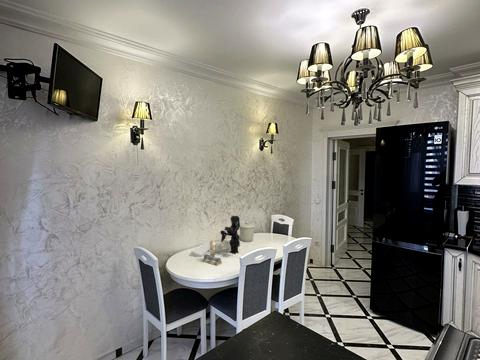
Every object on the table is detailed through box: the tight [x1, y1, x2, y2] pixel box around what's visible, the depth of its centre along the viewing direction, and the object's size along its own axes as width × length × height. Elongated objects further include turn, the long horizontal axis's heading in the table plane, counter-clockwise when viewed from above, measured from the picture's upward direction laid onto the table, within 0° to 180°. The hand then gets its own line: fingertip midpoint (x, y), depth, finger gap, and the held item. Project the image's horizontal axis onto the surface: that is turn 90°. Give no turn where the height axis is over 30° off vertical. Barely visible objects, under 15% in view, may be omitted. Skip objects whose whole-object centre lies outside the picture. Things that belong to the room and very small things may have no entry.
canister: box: [239, 221, 256, 243], centre depth 287 cm, size 18×18×21 cm
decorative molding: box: [189, 240, 217, 258], centre depth 251 cm, size 34×5×10 cm
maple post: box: [209, 240, 216, 257], centre depth 220 cm, size 4×4×13 cm
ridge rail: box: [202, 253, 223, 267], centre depth 221 cm, size 16×6×5 cm, turn 55°
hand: (225, 242), depth 232 cm, fingers open, 9 cm apart
